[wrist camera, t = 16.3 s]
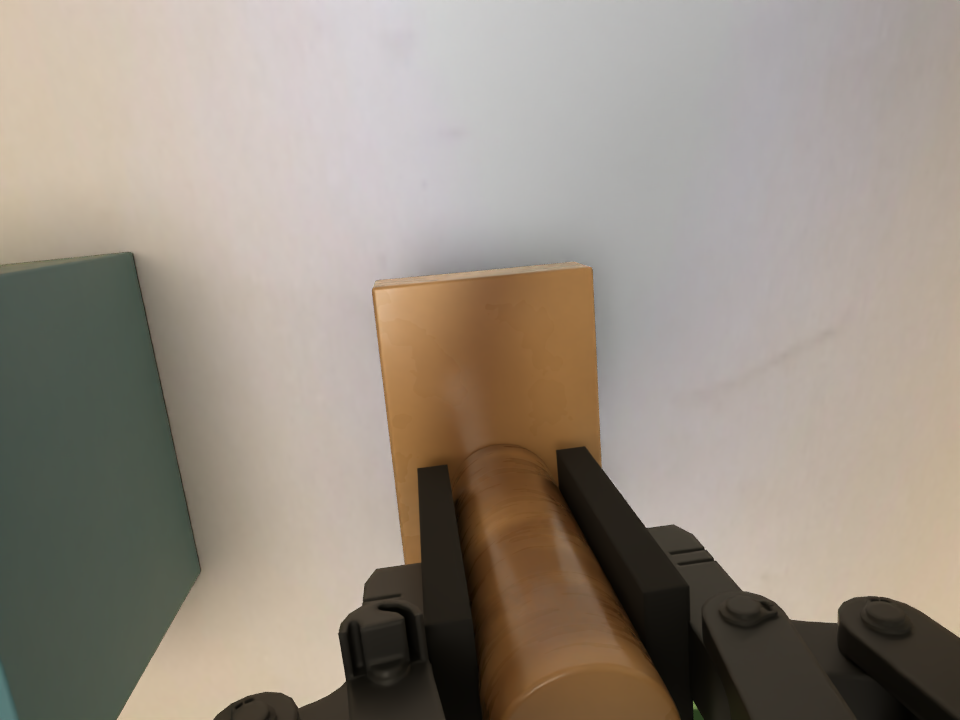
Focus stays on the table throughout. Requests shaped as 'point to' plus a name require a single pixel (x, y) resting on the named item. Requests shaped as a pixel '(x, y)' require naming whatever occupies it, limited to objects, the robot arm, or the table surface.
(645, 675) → the stamp
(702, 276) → the table surface
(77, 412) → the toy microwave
